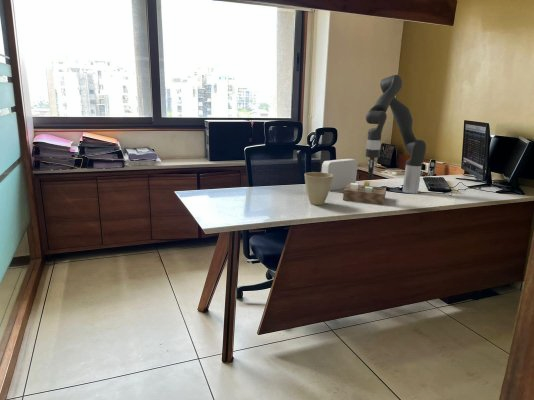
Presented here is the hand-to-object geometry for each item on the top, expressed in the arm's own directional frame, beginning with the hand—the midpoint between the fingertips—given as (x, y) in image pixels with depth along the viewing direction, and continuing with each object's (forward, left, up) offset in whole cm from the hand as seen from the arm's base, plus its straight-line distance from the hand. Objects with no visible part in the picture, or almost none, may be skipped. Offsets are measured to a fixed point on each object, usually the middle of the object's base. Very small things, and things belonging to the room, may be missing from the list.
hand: (370, 179), depth 210 cm
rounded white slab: (+21, -27, -13) cm, 37 cm away
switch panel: (+2, -4, -13) cm, 13 cm away
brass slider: (+2, -9, -7) cm, 11 cm away
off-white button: (+8, 0, -8) cm, 12 cm away
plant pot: (+25, +19, -13) cm, 34 cm away
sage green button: (0, 0, -10) cm, 10 cm away
